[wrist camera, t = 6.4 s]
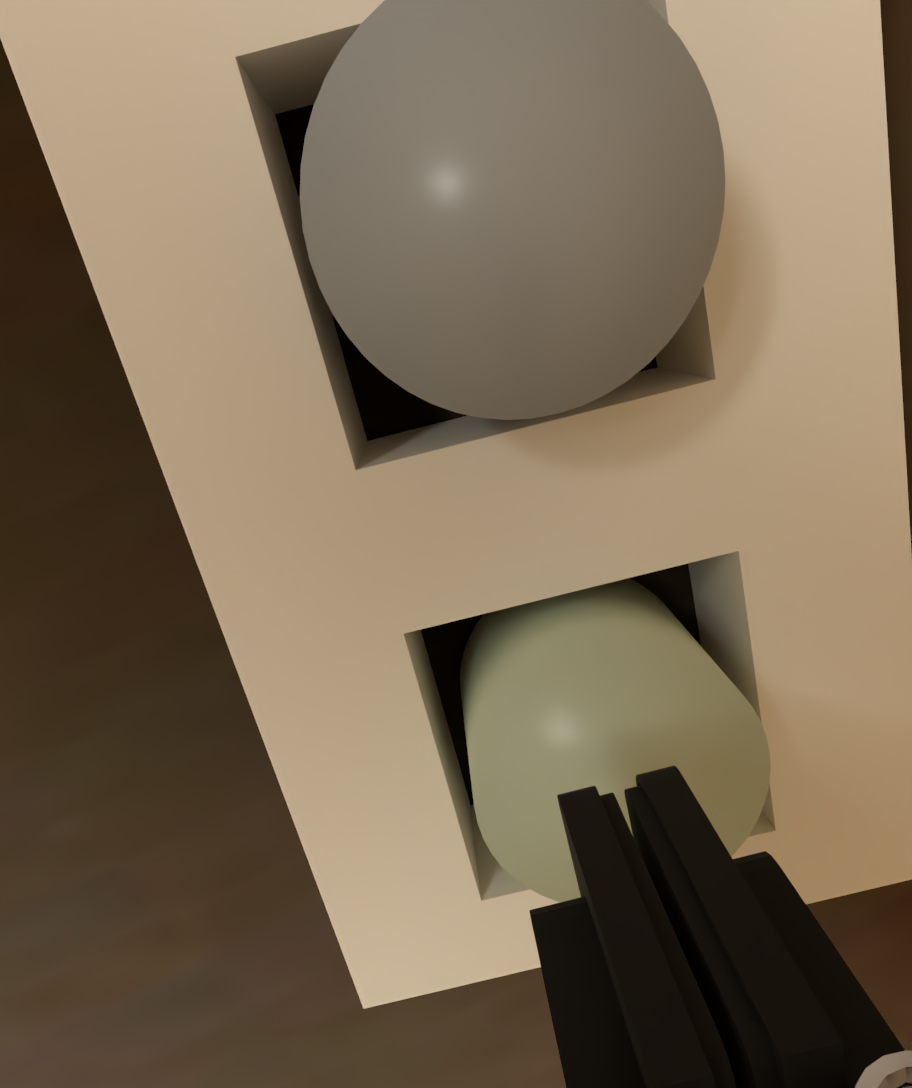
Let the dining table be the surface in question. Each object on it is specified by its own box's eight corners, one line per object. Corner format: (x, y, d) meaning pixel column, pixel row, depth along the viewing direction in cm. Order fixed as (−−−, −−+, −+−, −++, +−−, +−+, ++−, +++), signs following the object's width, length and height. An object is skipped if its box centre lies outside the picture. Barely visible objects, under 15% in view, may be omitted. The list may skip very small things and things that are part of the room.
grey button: (297, 115, 12) (240, 18, 8) (602, 35, 12) (693, -103, 8) (381, 420, 13) (367, 462, 9) (652, 351, 13) (748, 365, 9)
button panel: (-197, -732, 10) (-451, -1167, 7) (678, -990, 10) (791, -1554, 7) (372, 900, 18) (363, 1009, 15) (847, 786, 18) (929, 875, 15)
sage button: (434, 600, 15) (440, 694, 12) (667, 542, 15) (752, 617, 11) (488, 796, 17) (509, 936, 13) (701, 745, 17) (785, 871, 13)
